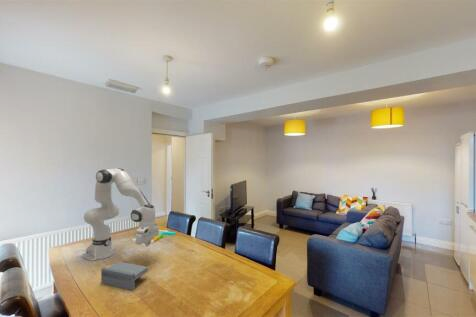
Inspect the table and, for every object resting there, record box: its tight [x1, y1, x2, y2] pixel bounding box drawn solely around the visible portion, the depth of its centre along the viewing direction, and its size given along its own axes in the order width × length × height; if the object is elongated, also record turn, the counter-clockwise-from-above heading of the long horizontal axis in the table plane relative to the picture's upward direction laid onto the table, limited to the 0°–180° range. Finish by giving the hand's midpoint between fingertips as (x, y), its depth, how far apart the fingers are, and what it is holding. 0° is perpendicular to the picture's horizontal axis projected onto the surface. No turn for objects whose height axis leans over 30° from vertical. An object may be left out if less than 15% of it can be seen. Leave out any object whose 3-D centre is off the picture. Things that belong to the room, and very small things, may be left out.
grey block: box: [100, 261, 149, 291], centre depth 135 cm, size 24×13×9 cm, turn 72°
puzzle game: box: [131, 229, 177, 245], centre depth 209 cm, size 30×3×30 cm
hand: (147, 245), depth 156 cm, fingers closed
